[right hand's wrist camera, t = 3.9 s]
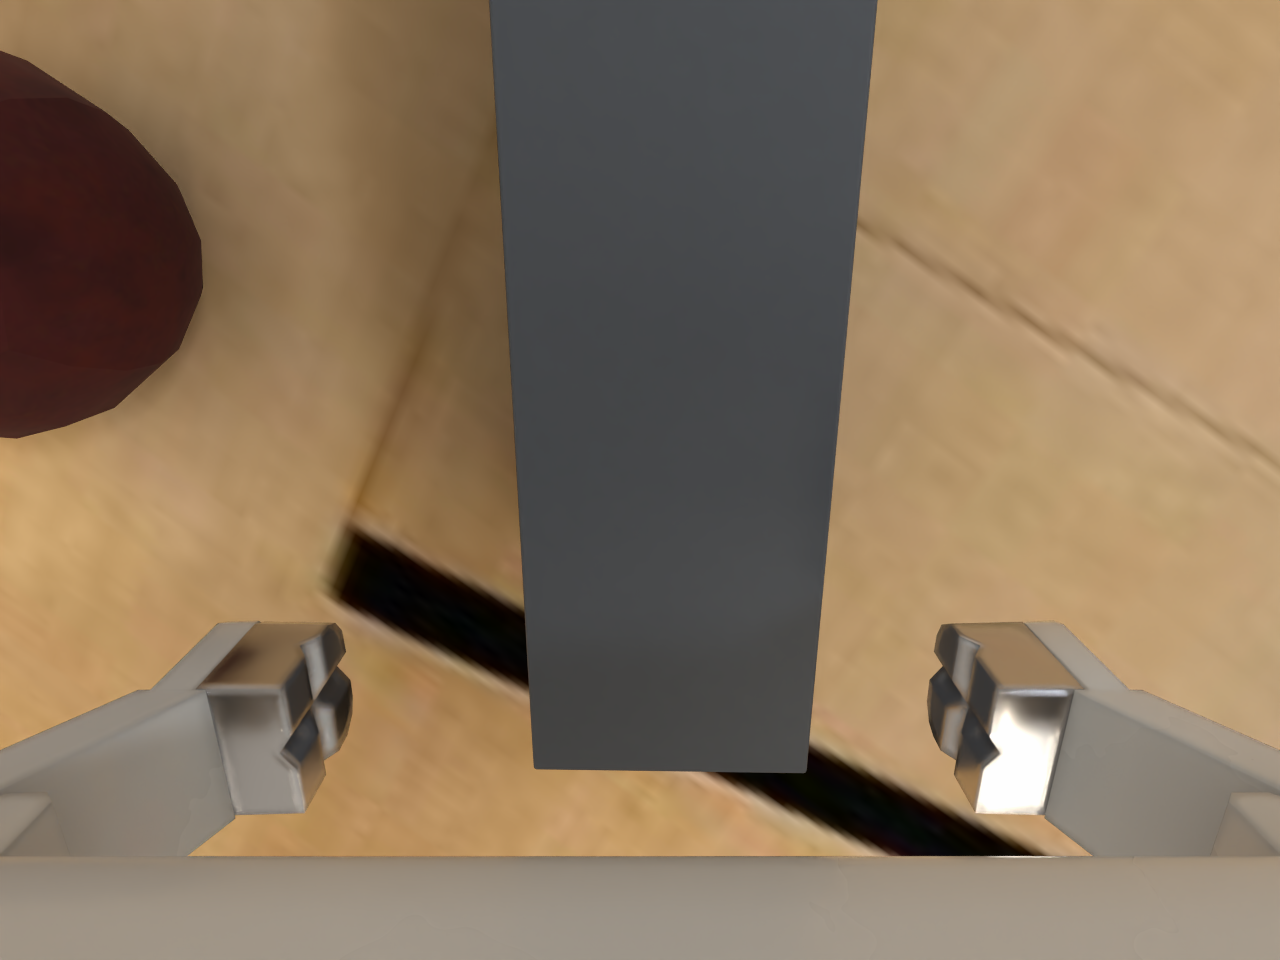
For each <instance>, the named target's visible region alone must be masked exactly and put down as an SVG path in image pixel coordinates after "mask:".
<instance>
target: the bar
mask: <svg viewBox="0 0 1280 960" xmlns="http://www.w3.org/2000/svg"><path fill="white" fill-rule="evenodd" d="M489 7H490V24H491V41H492V58H493V76H494V93H495V110H496V127H497V144H498V161H499V179H500V196H501V213H502V230H503V247H504V264H505V282H506V299H507V316H508V333H509V350H510V367H511V385H512V402H513V419H514V436H515V453H516V470H517V488H518V505H519V522H520V539H521V556H522V573H523V591H524V608H525V625H526V642H527V659H528V676H529V694H530V711H531V728H532V745H533V762H534V768H535V769H557V770H629V771H701V772H772V773H805V772H806V769H807V758H808V747H809V736H810V725H811V714H812V704H813V693H814V682H815V671H816V660H817V650H818V639H819V628H820V617H821V606H822V595H823V585H824V574H825V563H826V552H827V541H828V530H829V520H830V509H831V498H832V487H833V476H834V465H835V455H836V444H837V433H838V422H839V411H840V401H841V390H842V379H843V368H844V357H845V346H846V336H847V325H848V314H849V303H850V292H851V281H852V271H853V260H854V249H855V238H856V227H857V217H858V206H859V195H860V184H861V173H862V162H863V152H864V141H865V130H866V119H867V108H868V97H869V87H870V76H871V65H872V54H873V43H874V33H875V22H876V11H877V0H489Z"/></svg>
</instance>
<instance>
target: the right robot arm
mask: <svg viewBox="0 0 1280 960" xmlns="http://www.w3.org/2000/svg"><path fill="white" fill-rule="evenodd" d="M345 652H346V649H345V644H344V639H343V634H342V630H341V629H340V628H339V627H338V626H337V625H336V623H305V622H260V621H238V622H223V623H218V624H217V625H216V626H215V627H214V628H213V629H212V630H211V631H210V632H209V633H208V634H207V635H206V636H205V637H204V638H203V639H202V640H201V641H199V642H198V643H197V644H196V645H195V646H194V647H193V648H192V649H191V650H190V651H189V652H188V653H187V654H186V655H185V656H184V657H183V658H182V659H181V660H180V661H179V662H178V663H177V664H176V665H175V666H174V667H173V668H172V669H171V670H170V671H169V672H168V673H167V674H166V675H165V676H164V677H163V678H162V679H161V680H160V681H159V682H158V683H157V684H156V685H155V686H154V687H153V688H152V689H151V690H137V691H135V692H132V693H130V694H128V695H125V696H123V697H121V698H119V699H116V700H114V701H112V702H109V703H107V704H105V705H103V706H100V707H98V708H96V709H93V710H91V711H89V712H87V713H84V714H82V715H80V716H77V717H75V718H73V719H71V720H68V721H66V722H64V723H61V724H59V725H57V726H54V727H52V728H50V729H48V730H45V731H43V732H41V733H38V734H36V735H34V736H32V737H29V738H27V739H25V740H22V741H20V742H18V743H16V744H13V745H11V746H9V747H6V748H4V749H2V750H0V960H1280V750H1278V749H1275V748H1273V747H1271V746H1269V745H1266V744H1264V743H1262V742H1259V741H1257V740H1255V739H1253V738H1250V737H1248V736H1246V735H1244V734H1241V733H1239V732H1237V731H1234V730H1232V729H1230V728H1228V727H1225V726H1223V725H1221V724H1218V723H1216V722H1214V721H1212V720H1209V719H1207V718H1205V717H1202V716H1200V715H1198V714H1196V713H1193V712H1191V711H1189V710H1186V709H1184V708H1182V707H1180V706H1177V705H1175V704H1173V703H1171V702H1168V701H1166V700H1164V699H1161V698H1159V697H1157V696H1155V695H1152V694H1150V693H1148V692H1145V691H1143V690H1129V689H1128V688H1127V687H1126V686H1125V685H1124V684H1123V683H1122V682H1121V681H1120V680H1119V679H1118V678H1117V677H1116V676H1115V675H1114V674H1113V673H1112V672H1111V671H1110V670H1109V669H1108V668H1107V667H1106V666H1105V665H1104V664H1103V663H1102V662H1101V661H1100V660H1099V659H1098V658H1097V657H1096V656H1095V655H1094V654H1093V653H1092V652H1091V651H1090V650H1089V649H1088V648H1087V647H1086V646H1085V645H1084V644H1083V643H1082V642H1081V641H1080V640H1079V639H1078V638H1077V637H1076V636H1075V635H1074V634H1073V633H1072V632H1071V631H1070V630H1069V629H1068V628H1067V627H1066V626H1065V625H1064V624H1061V623H1058V622H1055V621H1037V622H1002V623H962V624H943V625H941V627H940V630H939V632H938V634H937V637H936V643H935V649H934V652H935V654H936V656H937V657H938V659H939V660H940V662H941V663H942V665H943V667H942V668H941V669H940V670H939V671H938V672H937V673H936V674H935V675H934V676H933V677H932V678H931V679H930V681H929V690H928V698H927V706H928V716H929V723H930V727H931V730H932V733H933V736H934V738H935V740H936V742H937V744H938V746H939V748H940V750H941V751H943V752H944V753H946V754H947V755H949V756H950V757H952V758H953V759H955V760H956V765H955V771H954V775H955V777H956V779H957V781H958V783H959V784H960V786H961V788H962V790H963V792H964V793H965V795H966V797H967V799H968V801H969V802H970V804H971V806H972V808H973V810H974V811H975V813H990V814H1027V815H1045V819H1046V820H1048V821H1049V822H1050V823H1052V824H1053V825H1054V826H1055V827H1057V828H1058V829H1059V830H1061V831H1062V832H1063V833H1064V834H1066V835H1067V836H1068V837H1069V838H1071V839H1072V840H1073V841H1075V842H1076V843H1077V844H1078V845H1080V846H1081V847H1082V848H1084V849H1085V850H1086V851H1087V852H1089V853H1090V854H1091V855H1093V856H188V855H189V854H190V853H191V852H193V851H194V850H195V849H197V848H198V847H199V846H200V845H202V844H203V843H204V842H206V841H207V840H208V839H209V838H211V837H212V836H213V835H215V834H216V833H217V832H218V831H220V830H221V829H222V828H224V827H225V826H226V825H227V824H229V823H230V822H231V821H233V820H234V819H235V815H252V814H288V813H305V811H306V810H307V808H308V806H309V804H310V802H311V801H312V799H313V797H314V795H315V793H316V792H317V790H318V788H319V786H320V784H321V783H322V781H323V779H324V777H325V775H326V772H325V766H324V760H325V759H327V758H328V757H330V756H331V755H333V754H334V753H336V752H337V751H339V750H340V748H341V746H342V744H343V742H344V740H345V738H346V736H347V734H348V730H349V725H350V721H351V717H352V700H353V695H352V688H351V681H350V679H349V678H348V677H347V676H346V675H345V674H344V673H343V672H342V671H341V670H340V669H339V668H338V667H337V665H338V663H339V662H340V660H341V659H342V657H343V656H344V654H345Z"/></svg>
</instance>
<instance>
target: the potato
mask: <svg viewBox="0 0 1280 960" xmlns="http://www.w3.org/2000/svg"><path fill="white" fill-rule="evenodd" d="M202 288H203V279H202V254H201V240H200V237H199V235H198V233H197V230H196V228H195V225H194V223H193V221H192V218H191V216H190V214H189V211H188V209H187V206H186V204H185V202H184V199H183V197H182V195H181V192H180V190H179V188H178V186H177V184H176V183H175V182H174V181H173V180H172V178H171V177H170V176H169V175H168V174H167V173H166V172H165V171H164V170H163V168H162V167H161V166H160V165H159V164H158V163H157V162H156V161H155V159H154V158H153V157H152V156H151V155H150V154H149V153H148V152H147V150H146V149H145V148H144V147H143V146H142V145H141V144H140V143H139V141H138V140H137V139H136V138H135V137H134V136H133V135H132V134H131V132H130V131H129V130H128V129H126V128H125V127H124V126H123V125H121V124H120V123H119V122H117V121H116V120H115V119H114V118H112V117H111V116H110V115H109V114H107V113H106V112H105V111H103V110H101V109H100V108H98V107H97V106H95V105H94V104H92V103H91V102H89V101H88V100H86V99H85V98H83V97H82V96H80V95H79V94H77V93H76V92H74V91H72V90H71V89H69V88H68V87H66V86H65V85H63V84H62V83H60V82H59V81H57V80H56V79H54V78H53V77H51V76H50V75H48V74H47V73H45V72H44V71H42V70H40V69H39V68H37V67H36V66H34V65H33V64H31V63H30V62H28V61H26V60H24V59H21V58H18V57H16V56H13V55H10V54H7V53H5V52H2V51H0V437H4V438H21V437H25V436H29V435H33V434H36V433H40V432H44V431H48V430H52V429H56V428H60V427H64V426H67V425H70V424H73V423H75V422H78V421H81V420H83V419H86V418H88V417H91V416H94V415H96V414H99V413H102V412H104V411H107V410H110V409H112V408H115V407H116V406H117V405H118V404H119V403H120V402H121V401H122V400H123V399H124V398H126V397H127V396H128V395H129V394H130V393H131V392H132V391H133V390H134V389H135V388H137V387H138V386H139V385H140V384H141V383H142V382H143V381H144V380H145V379H146V378H148V377H149V376H150V375H151V374H152V373H153V372H154V371H155V370H156V369H157V368H158V367H160V366H161V365H162V364H163V363H164V362H165V361H166V360H167V359H168V358H169V357H171V356H172V355H173V354H174V353H175V352H176V351H177V350H178V349H179V347H180V345H181V343H182V340H183V338H184V335H185V333H186V330H187V328H188V325H189V323H190V321H191V318H192V316H193V313H194V311H195V308H196V306H197V303H198V301H199V299H200V296H201V292H202Z"/></svg>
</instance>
